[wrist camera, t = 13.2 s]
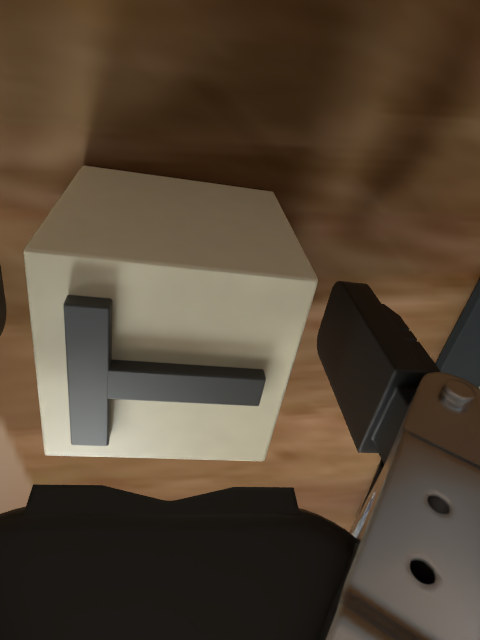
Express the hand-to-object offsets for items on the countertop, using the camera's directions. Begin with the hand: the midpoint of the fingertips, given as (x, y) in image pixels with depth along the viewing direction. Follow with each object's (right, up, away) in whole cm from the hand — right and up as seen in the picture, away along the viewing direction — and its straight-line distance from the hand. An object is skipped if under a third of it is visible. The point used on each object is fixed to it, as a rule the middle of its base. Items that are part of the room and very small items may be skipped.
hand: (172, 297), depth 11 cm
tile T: (0, +1, +1) cm, 1 cm away
